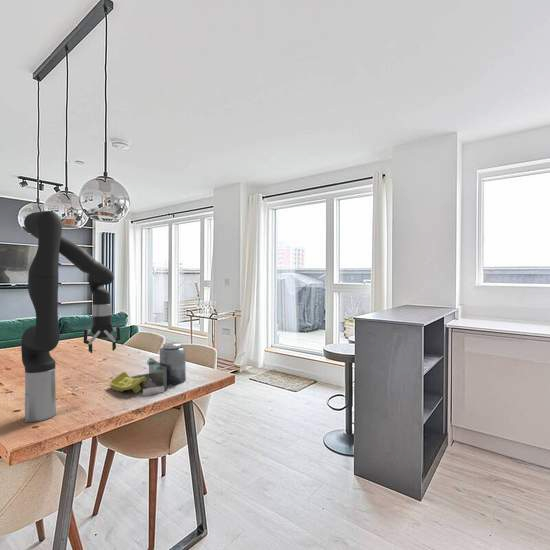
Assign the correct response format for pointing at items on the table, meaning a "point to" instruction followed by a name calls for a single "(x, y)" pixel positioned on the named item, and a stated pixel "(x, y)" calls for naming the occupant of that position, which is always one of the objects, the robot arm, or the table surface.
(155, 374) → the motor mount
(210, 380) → the table surface
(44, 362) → the robot arm
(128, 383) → the plastic component
